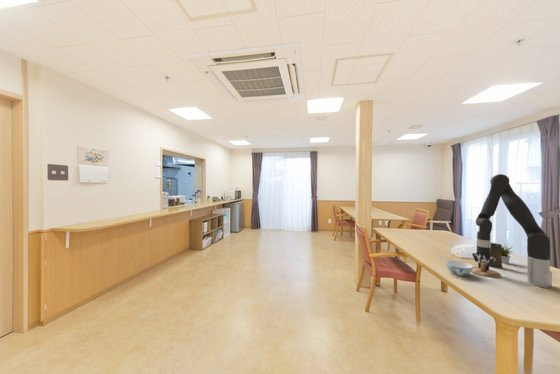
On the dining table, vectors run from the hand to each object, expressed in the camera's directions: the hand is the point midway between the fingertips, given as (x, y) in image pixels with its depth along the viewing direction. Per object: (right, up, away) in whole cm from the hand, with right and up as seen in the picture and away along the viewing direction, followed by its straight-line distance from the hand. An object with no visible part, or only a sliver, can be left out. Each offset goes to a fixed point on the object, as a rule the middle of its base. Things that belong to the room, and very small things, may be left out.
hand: (483, 269), depth 155 cm
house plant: (+36, -3, +22) cm, 43 cm away
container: (+20, -3, +12) cm, 24 cm away
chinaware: (-19, -3, -2) cm, 20 cm away
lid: (0, -3, 0) cm, 3 cm away
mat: (0, -3, 0) cm, 3 cm away
